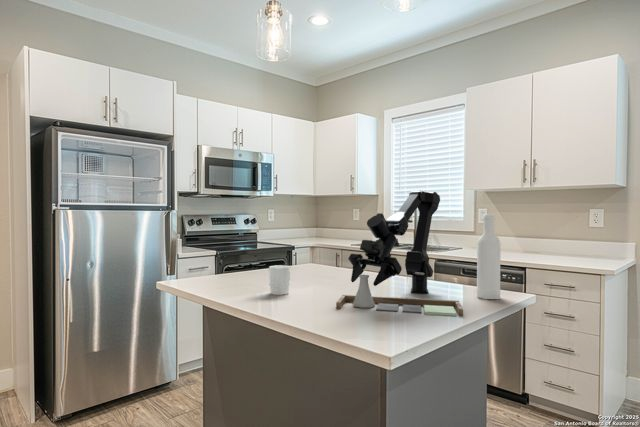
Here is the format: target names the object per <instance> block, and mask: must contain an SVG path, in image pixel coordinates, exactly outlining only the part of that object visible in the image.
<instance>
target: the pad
mask: <svg viewBox="0 0 640 427" xmlns="http://www.w3.org/2000/svg"><path fill="white" fill-rule="evenodd" d="M423 312H424V315H432V316H451V317H456V316H457V311H456V308H454V307H453V306H434V305H424V306H423Z"/></svg>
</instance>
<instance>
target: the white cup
mask: <svg viewBox="0 0 640 427" xmlns="http://www.w3.org/2000/svg"><path fill="white" fill-rule="evenodd" d="M268 270H269V271H268V272H269V273H268V275H269V290H270V292H269V293H270V294H271V295H274V296H284V294H285V295H287V294H289V292H290V280H291V266H290V265H285V264H283V265H282V264H279V265H277V264H275V265H270V266H268Z"/></svg>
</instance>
